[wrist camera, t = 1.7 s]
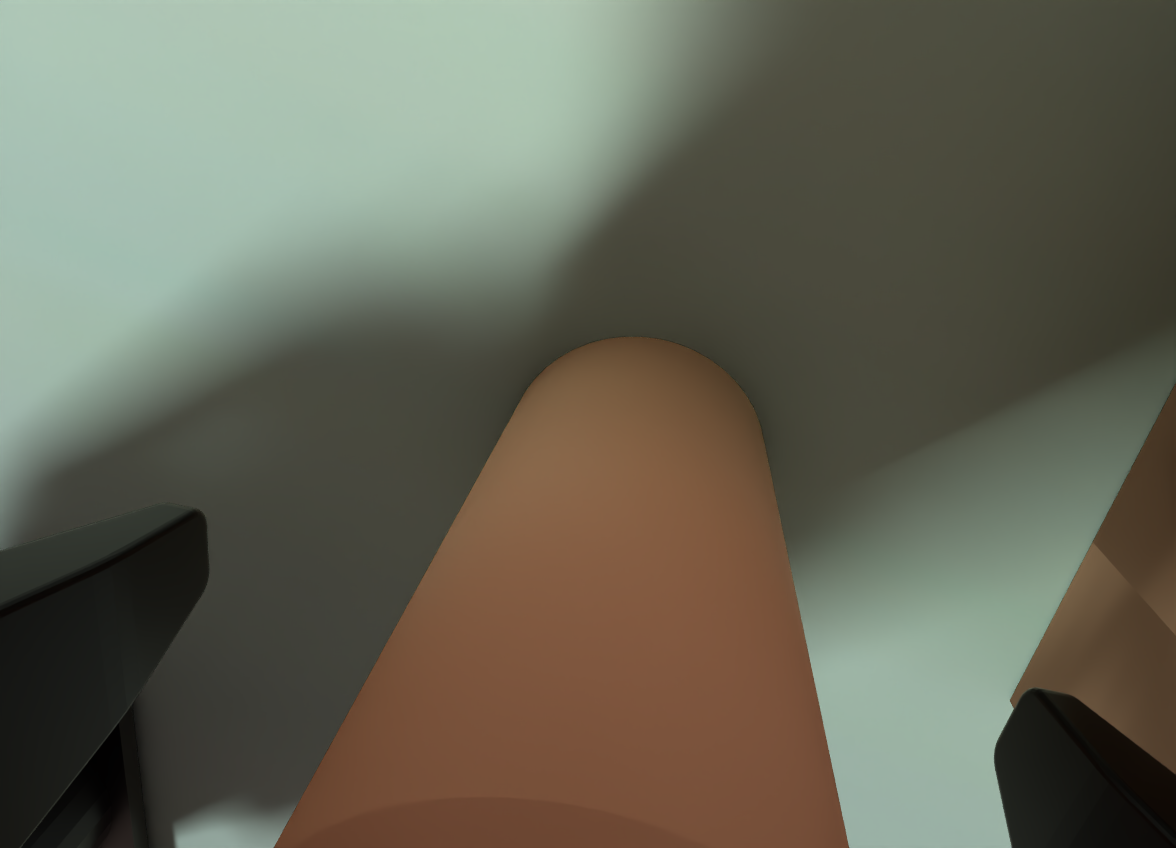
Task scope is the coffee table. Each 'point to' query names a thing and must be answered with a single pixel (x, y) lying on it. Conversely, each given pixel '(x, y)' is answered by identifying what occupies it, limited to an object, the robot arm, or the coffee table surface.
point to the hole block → (1124, 608)
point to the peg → (596, 640)
